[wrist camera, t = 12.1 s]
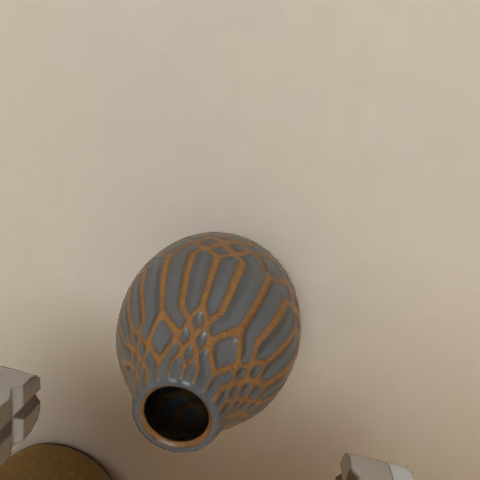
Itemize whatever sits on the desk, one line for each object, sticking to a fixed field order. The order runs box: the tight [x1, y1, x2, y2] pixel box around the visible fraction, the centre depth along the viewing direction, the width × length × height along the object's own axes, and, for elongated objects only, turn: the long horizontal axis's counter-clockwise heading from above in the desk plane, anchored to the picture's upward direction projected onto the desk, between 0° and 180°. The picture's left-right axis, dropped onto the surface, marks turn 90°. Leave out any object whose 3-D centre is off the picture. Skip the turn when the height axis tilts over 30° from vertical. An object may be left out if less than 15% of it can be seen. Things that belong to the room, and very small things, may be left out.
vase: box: [116, 232, 301, 452], centre depth 14 cm, size 7×7×9 cm
